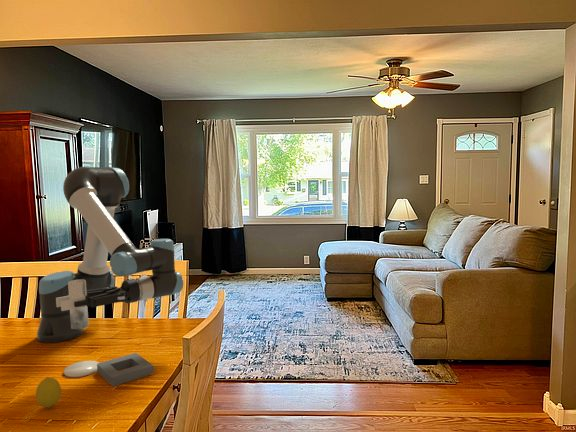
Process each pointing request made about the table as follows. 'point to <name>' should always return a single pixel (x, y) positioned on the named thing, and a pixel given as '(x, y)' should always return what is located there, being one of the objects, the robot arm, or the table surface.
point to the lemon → (48, 392)
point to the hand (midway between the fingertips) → (59, 304)
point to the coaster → (81, 369)
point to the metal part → (79, 314)
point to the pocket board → (118, 377)
